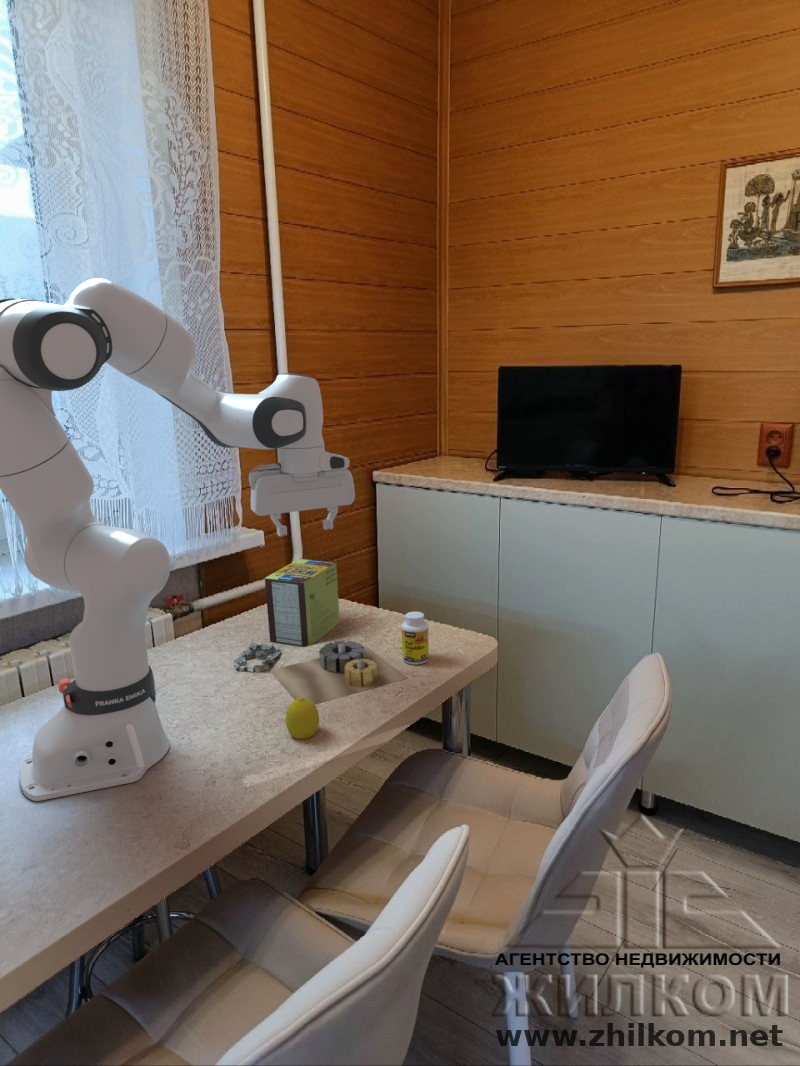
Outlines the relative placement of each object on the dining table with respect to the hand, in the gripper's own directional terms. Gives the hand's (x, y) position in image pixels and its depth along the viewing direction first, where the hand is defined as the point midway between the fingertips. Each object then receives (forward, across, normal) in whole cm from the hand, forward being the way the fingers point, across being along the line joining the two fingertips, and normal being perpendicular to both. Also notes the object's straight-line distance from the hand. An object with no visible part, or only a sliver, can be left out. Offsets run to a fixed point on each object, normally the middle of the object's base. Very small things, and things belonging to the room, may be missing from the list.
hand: (305, 532), depth 136 cm
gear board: (+30, +3, -6) cm, 30 cm away
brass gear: (+28, +6, -10) cm, 31 cm away
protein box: (+30, +7, +21) cm, 37 cm away
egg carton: (+30, -9, +9) cm, 33 cm away
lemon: (+30, -11, -23) cm, 39 cm away
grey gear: (+28, +6, -2) cm, 29 cm away
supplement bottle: (+30, +21, -6) cm, 37 cm away
